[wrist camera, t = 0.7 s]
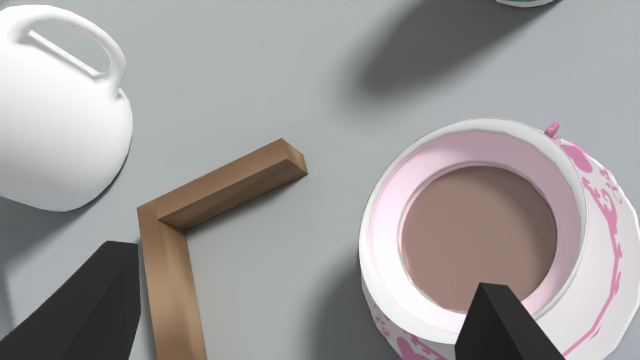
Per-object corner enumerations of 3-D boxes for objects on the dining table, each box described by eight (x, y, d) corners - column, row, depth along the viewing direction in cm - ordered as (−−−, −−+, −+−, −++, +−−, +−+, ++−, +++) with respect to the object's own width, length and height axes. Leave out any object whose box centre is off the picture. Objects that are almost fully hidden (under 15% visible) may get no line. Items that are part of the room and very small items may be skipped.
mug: (11, 160, 42) (-176, 87, 32) (119, 30, 41) (-36, -86, 31) (66, 245, 37) (-134, 191, 27) (190, 99, 36) (32, -12, 26)
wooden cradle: (404, 515, 24) (385, 526, 22) (218, 562, 27) (186, 577, 25) (302, 154, 32) (281, 137, 30) (164, 218, 34) (136, 207, 32)
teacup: (519, 467, 23) (493, 490, 18) (316, 276, 29) (253, 250, 24) (713, 228, 23) (746, 180, 18) (468, 86, 29) (437, 18, 24)
